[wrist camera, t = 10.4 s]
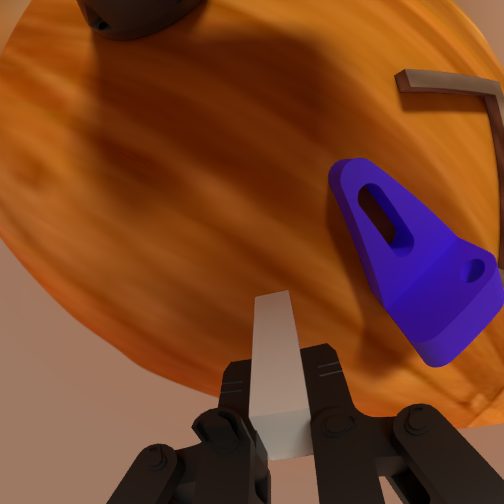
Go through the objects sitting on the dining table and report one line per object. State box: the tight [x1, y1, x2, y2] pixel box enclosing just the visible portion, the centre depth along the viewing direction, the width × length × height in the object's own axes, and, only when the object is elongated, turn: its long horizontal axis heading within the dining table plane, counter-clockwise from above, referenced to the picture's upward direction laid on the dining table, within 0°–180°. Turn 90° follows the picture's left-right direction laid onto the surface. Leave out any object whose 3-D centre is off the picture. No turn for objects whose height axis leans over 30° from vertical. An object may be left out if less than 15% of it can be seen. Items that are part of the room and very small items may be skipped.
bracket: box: [329, 158, 504, 367], centre depth 21 cm, size 18×11×12 cm, turn 44°
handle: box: [394, 69, 504, 288], centre depth 23 cm, size 28×17×2 cm, turn 14°
